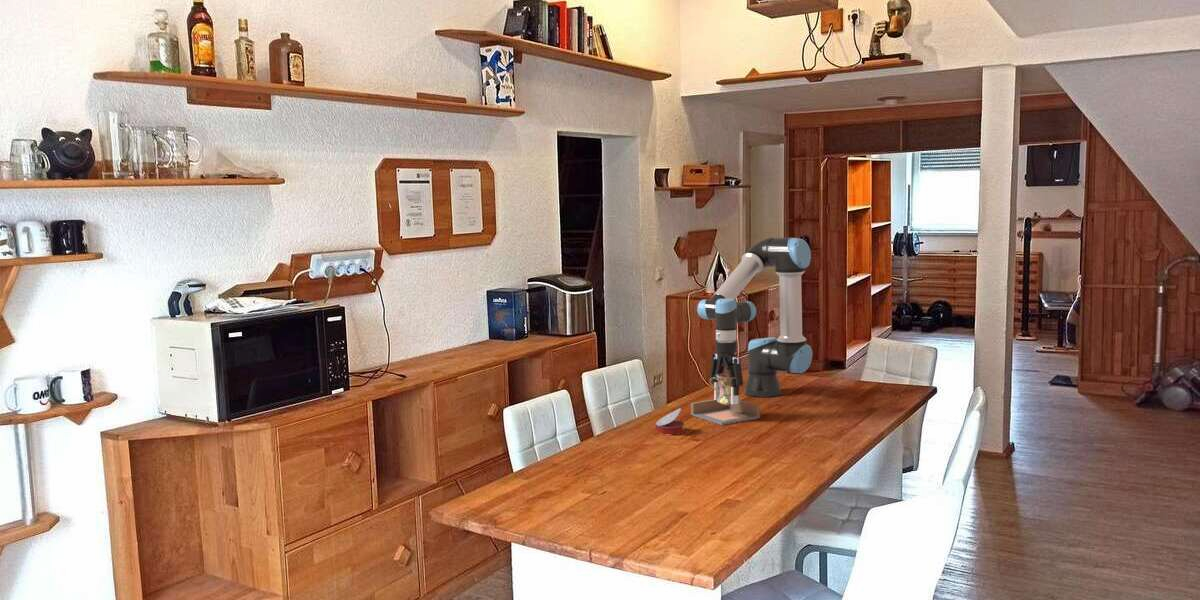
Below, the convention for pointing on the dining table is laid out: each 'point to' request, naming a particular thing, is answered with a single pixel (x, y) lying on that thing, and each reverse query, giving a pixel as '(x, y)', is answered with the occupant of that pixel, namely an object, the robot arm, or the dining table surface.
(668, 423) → the canned food
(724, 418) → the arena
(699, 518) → the dining table surface
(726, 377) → the mug
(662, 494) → the dining table surface
